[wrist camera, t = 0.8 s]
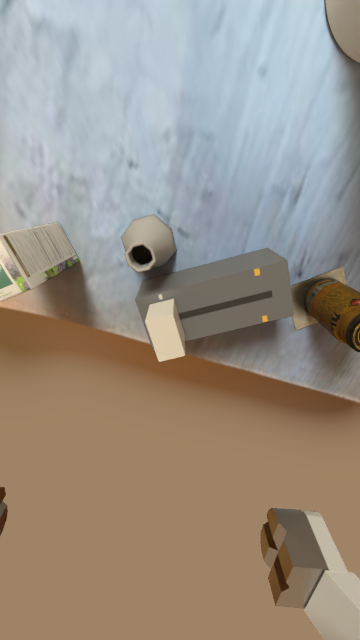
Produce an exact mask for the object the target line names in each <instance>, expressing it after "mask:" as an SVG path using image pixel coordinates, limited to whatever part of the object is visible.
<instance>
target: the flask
mask: <svg viewBox="0 0 360 640" xmlns="http://www.w3.org/2000/svg"><path fill="white" fill-rule="evenodd" d="M121 239H122V242H123V245H124V248H125V251H126V253H125V257H126V260H127V263H128V266H130V267H131V268H132V269H134V270H135V271H136V272H138V273H139V272H143V271H147V270H149V269H152V268H156V267H160V266H164V265H165V263H166V262H167V261H168V260H169V258H170V257H171V256H172V255H173V253H174V252H175V251H176V250H177V249H176V245H175V241H174V237H173V233H172V229H171V228H170V227H169V226H168V225H167V224H165V223H164V222H163V221H162V220H161V219H159V218H158V217H157V216H156V215H155V214H153V215H149V216H145V217H142V218H138V219H134V220H133V221H132V222H131V224H130V225H129V226H128V228H127V229H126V231H125V232H124V233H123V235H122V236H121Z"/></svg>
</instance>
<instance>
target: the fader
mask: <svg viewBox="0 0 360 640" xmlns="http://www.w3.org/2000/svg"><path fill="white" fill-rule="evenodd" d="M145 323H146V326H147V329H148V332H149V335H150V337H151V340H152V343H153V346H154V349H155V352H156V355H157V358H158V361H159V362H161V361H165V360H169V359H174V358H178V357H182V356H185V335H184V331H183V328H182V324H181V321H180V318H179V314H178V311H177V307H176V304H175V300H174V299H170V300H166V301H162V302H158V303H154V304H150V305H149V309H148V312H147V316H146V320H145Z"/></svg>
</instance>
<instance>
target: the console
mask: <svg viewBox="0 0 360 640" xmlns="http://www.w3.org/2000/svg"><path fill="white" fill-rule="evenodd" d="M170 299H174V300H175V304H176V307H177V311H178V314H179V318H180V321H181V324H182V328H183V331H184V335H185V341H189V340H193V339H198V338H202V337H206V336H210V335H214V334H219V333H223V332H227V331H231V330H235V329H240V328H244V327H248V326H252V325H256V324H260V323H265V322H269V321H273V320H277V319H281V318H286V317H290V316H294V311H293V303H292V295H291V287H290V279H289V271H288V263H287V260H286V259H285V258H283V257H281V256H280V255H278V254H277V253H275V252H273V251H272V250H270V249H269V248H265V249H262V250H258V251H254V252H250V253H246V254H243V255H239V256H235V257H231V258H228V259H224V260H220V261H216V262H212V263H209V264H205V265H201V266H197V267H193V268H190V269H186V270H182V271H178V272H175V273H171V274H167V275H163V276H159V277H156V278H152V279H148V280H144V281H143V282H142V284H141V287H140V289H139V291H138V294H137V296H136V299H135V300H136V303H137V306H138V309H139V312H140V314H141V317H142V320H143V323H144V326H145V329H146V332H147V335H148V337H149V340H150V343H151V346H152V349H154V346H153V343H152V340H151V337H150V335H149V332H148V329H147V326H146V323H145V320H146V316H147V312H148V309H149V305H150V304H154V303H158V302H162V301H166V300H170Z"/></svg>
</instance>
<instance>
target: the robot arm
mask: <svg viewBox="0 0 360 640" xmlns="http://www.w3.org/2000/svg"><path fill="white" fill-rule="evenodd" d="M326 11H327V17H328V21H329V25H330V28H331V31H332V33H333V35H334V38H335V39H336V41H337V43H338V44H339V46H340V47H341V49H342V50H343V51H344V52H345V53H346V54H347V55H348V56H349V57H350V58H352V59H353V60H355V61H356V62H358V63H360V0H326ZM5 495H6V494H5V488H4V487H0V535H1V533H2V531H3V528H4V525H5V522H6V519H7V512H8V510H7V505H6V504H5V503H4V502H3V499H4V497H5ZM267 519H268V522H267V523H265V524H264V525H263V527H262V530H261V549H262V554H263V558H264V561H265V562H266V563H267V565H268V566H269V567H270V568H271V571H270V574H269V577H268V579H269V583H270V586H271V591H272V594H273V598H274V602H275V606H284V607H294V608H305V609H304V611H305V612H306V614H307V615H308V617H309V618H310V620H311V621H312V623H313V624H314V626H315V627H316V629H317V630H318V631H319V633H320V634H321V636H322V637H323V639H324V640H360V579H359V578H358V577H357V576H356V575H355V574H354V573H353V572H348V571H347V568H346V567H345V564H344V562H343V560H342V558H341V556H340V554H339V552H338V550H337V547H336V545H335V543H334V541H333V539H332V537H331V535H330V533H329V531H328V529H327V526H326V524H325V522H324V520H323V518H322V516H321V515H320V514H319V513H318V512H316V511H301V510H294V509H278V508H271V509H269V511H268V514H267Z"/></svg>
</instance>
